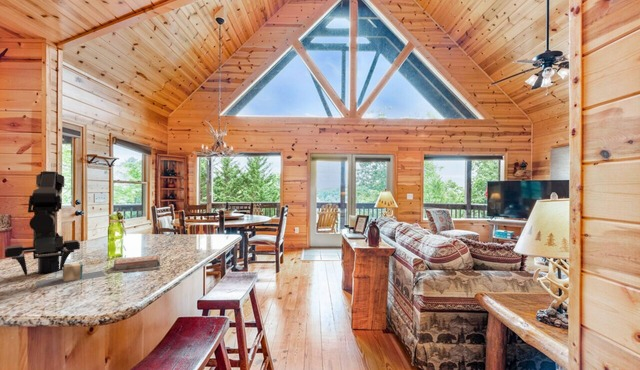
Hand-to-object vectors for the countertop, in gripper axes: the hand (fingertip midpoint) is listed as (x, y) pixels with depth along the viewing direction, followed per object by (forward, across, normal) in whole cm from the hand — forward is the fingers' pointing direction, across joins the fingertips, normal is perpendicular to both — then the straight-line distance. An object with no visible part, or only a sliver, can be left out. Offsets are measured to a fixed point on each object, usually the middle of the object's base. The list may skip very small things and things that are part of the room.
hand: (43, 272), depth 102 cm
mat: (+4, +8, 0) cm, 9 cm away
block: (+1, +5, 0) cm, 5 cm away
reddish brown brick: (+5, +28, +1) cm, 29 cm away
